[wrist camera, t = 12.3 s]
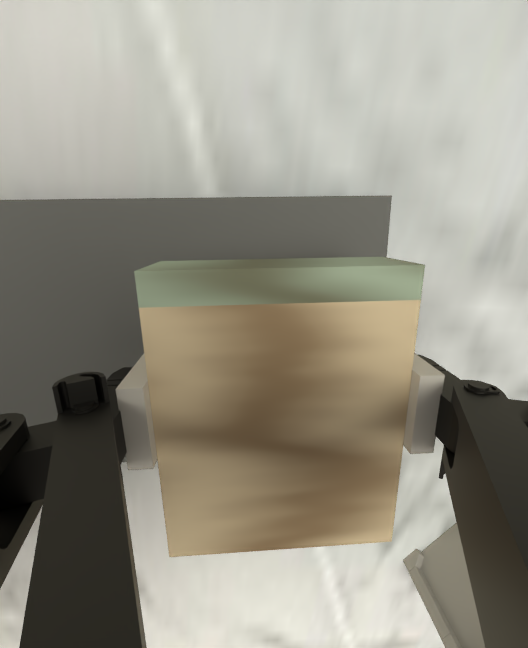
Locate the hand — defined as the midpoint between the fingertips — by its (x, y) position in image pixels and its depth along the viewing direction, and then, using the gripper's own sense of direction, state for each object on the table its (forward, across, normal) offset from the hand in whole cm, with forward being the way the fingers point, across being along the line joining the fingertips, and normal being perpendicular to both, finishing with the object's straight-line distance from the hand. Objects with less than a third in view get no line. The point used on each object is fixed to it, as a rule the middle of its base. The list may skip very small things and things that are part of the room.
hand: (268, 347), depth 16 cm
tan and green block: (-5, 0, -6) cm, 7 cm away
